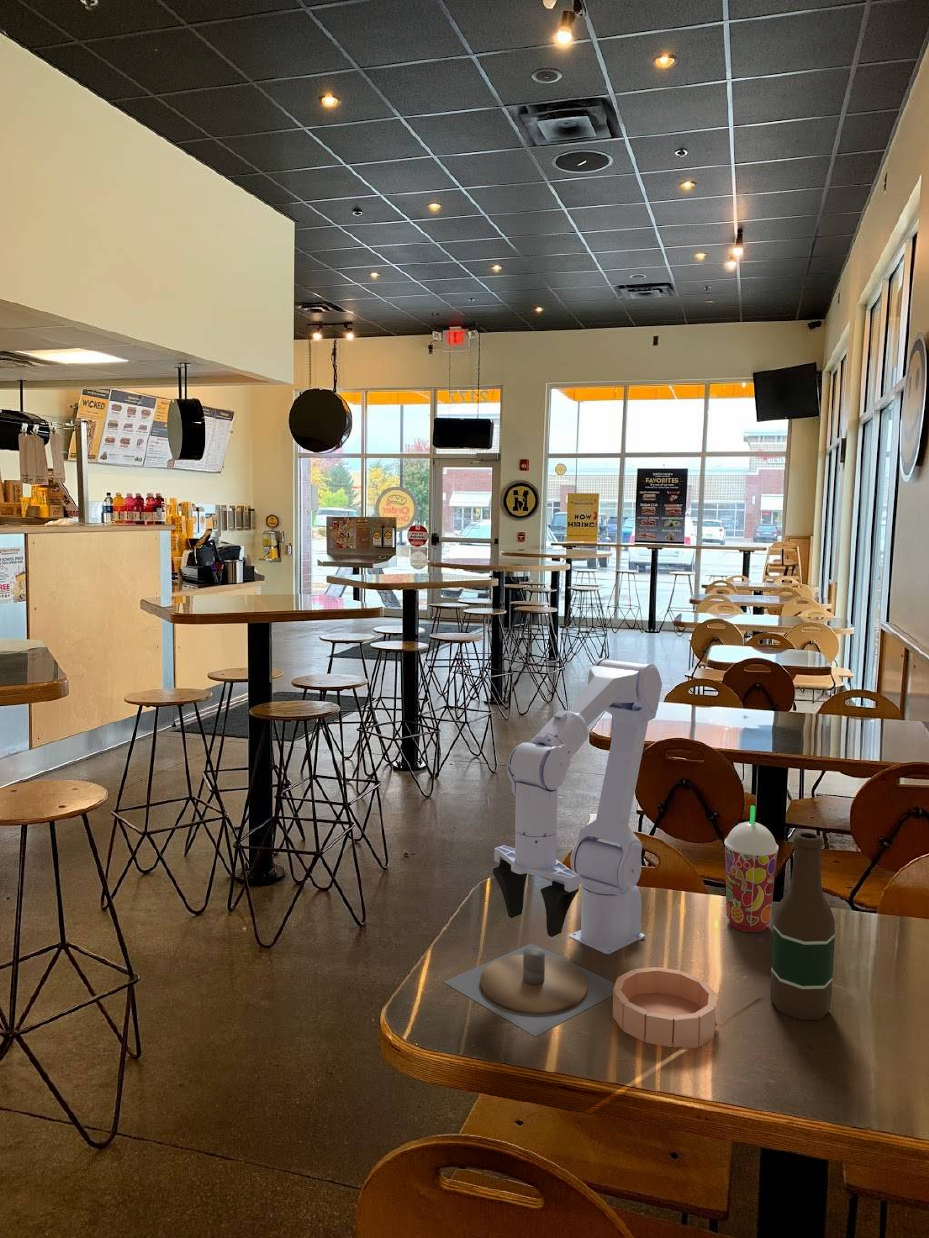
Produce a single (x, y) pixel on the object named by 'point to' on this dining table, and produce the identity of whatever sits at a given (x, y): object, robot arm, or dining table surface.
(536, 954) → the lid
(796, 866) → the beer bottle
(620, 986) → the bowl
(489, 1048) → the dining table surface
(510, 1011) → the mat
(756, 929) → the smoothie
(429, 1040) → the dining table surface
